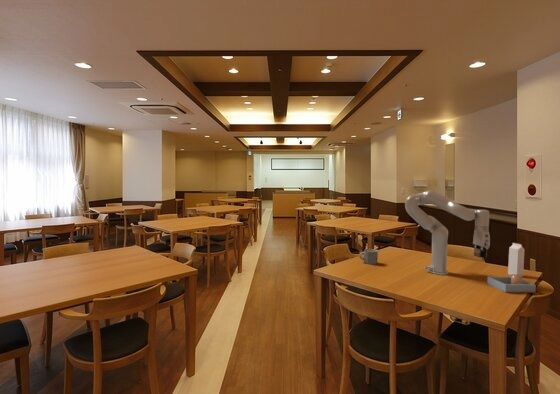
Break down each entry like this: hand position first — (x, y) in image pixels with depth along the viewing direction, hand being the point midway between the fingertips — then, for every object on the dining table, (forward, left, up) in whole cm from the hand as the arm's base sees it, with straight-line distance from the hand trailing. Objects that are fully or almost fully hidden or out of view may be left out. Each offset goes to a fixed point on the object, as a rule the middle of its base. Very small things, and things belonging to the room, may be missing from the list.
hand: (480, 255), depth 197 cm
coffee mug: (-62, +37, -15) cm, 74 cm away
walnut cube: (0, 0, -1) cm, 1 cm away
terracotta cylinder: (+10, -18, -15) cm, 25 cm away
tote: (+7, -18, -15) cm, 24 cm away
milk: (+30, +7, -15) cm, 35 cm away
